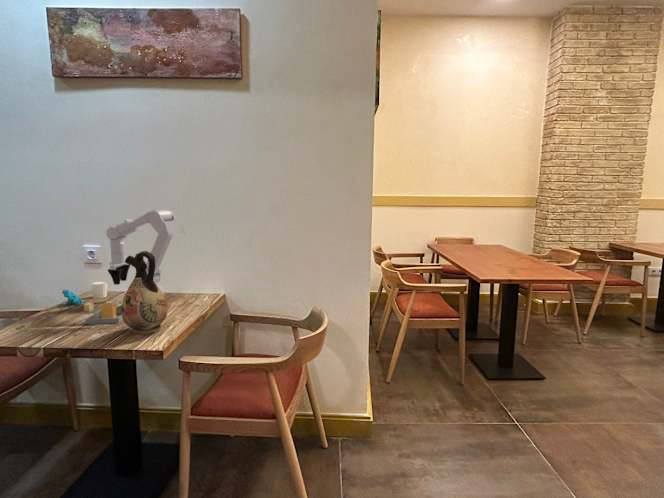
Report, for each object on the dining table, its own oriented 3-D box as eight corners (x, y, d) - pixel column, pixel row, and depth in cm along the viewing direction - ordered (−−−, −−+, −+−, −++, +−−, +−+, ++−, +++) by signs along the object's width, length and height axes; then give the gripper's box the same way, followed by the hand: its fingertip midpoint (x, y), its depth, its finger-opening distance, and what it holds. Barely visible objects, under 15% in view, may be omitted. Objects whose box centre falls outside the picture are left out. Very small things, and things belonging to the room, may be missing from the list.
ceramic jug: (112, 334, 144) (106, 251, 140) (146, 321, 158) (142, 246, 154) (149, 341, 138) (143, 254, 134) (181, 327, 152) (177, 248, 148)
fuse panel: (118, 307, 176) (117, 299, 175) (108, 314, 166) (108, 306, 166) (89, 308, 175) (88, 300, 174) (77, 315, 165) (77, 306, 164)
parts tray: (130, 315, 166) (130, 309, 166) (119, 324, 154) (118, 318, 154) (100, 315, 165) (99, 310, 164) (85, 325, 153) (85, 319, 153)
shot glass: (88, 298, 191) (87, 284, 190) (99, 294, 198) (97, 280, 197) (101, 299, 190) (100, 284, 189) (111, 295, 196) (110, 281, 195)
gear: (80, 304, 175) (61, 289, 173) (69, 315, 173) (50, 300, 171) (88, 301, 185) (70, 287, 183) (78, 311, 184) (59, 297, 182)
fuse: (116, 317, 161) (115, 301, 160) (113, 319, 158) (112, 303, 157) (104, 317, 161) (103, 302, 160) (101, 320, 158) (100, 304, 157)
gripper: (115, 250, 188) (117, 279, 190) (101, 255, 174) (104, 286, 176) (131, 250, 189) (133, 278, 191) (118, 255, 174) (121, 286, 176)
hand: (120, 282), depth 183 cm, fingers open, 7 cm apart
